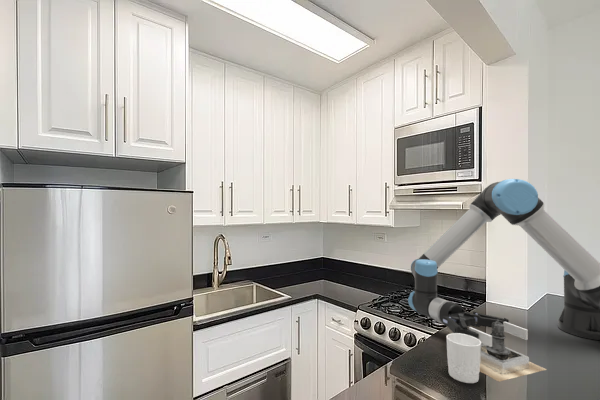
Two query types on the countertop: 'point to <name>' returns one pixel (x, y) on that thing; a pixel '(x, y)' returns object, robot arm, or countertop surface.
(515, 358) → the collar
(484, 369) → the flange board
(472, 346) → the white cup
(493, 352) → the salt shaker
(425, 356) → the countertop surface
